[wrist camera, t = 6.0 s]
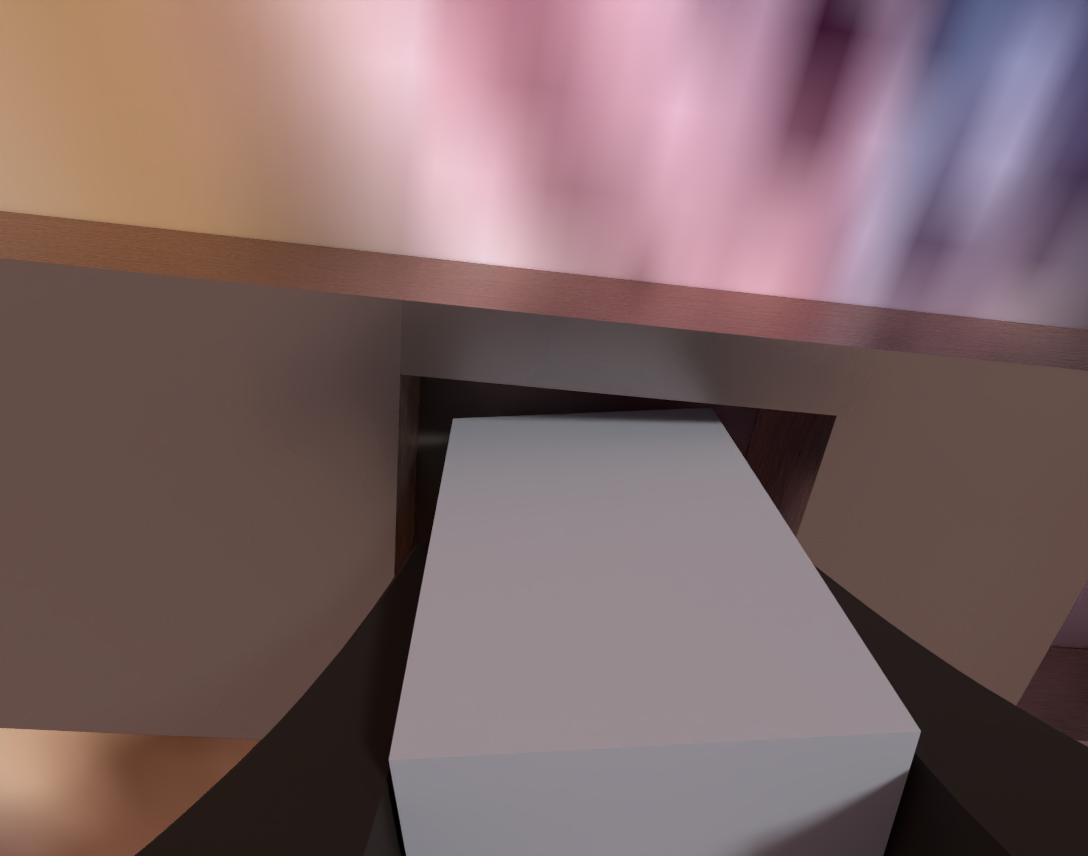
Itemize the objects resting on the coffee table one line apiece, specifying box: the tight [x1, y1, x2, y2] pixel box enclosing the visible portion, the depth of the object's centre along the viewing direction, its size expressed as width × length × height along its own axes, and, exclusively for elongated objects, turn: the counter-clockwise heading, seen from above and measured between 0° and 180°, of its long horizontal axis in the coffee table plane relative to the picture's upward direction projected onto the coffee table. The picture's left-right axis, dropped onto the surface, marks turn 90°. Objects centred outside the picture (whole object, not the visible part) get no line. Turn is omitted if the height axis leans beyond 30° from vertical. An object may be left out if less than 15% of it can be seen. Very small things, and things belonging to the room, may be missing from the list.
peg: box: [389, 408, 921, 856], centre depth 9 cm, size 4×4×6 cm
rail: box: [0, 211, 1088, 747], centre depth 12 cm, size 28×8×2 cm, turn 83°
